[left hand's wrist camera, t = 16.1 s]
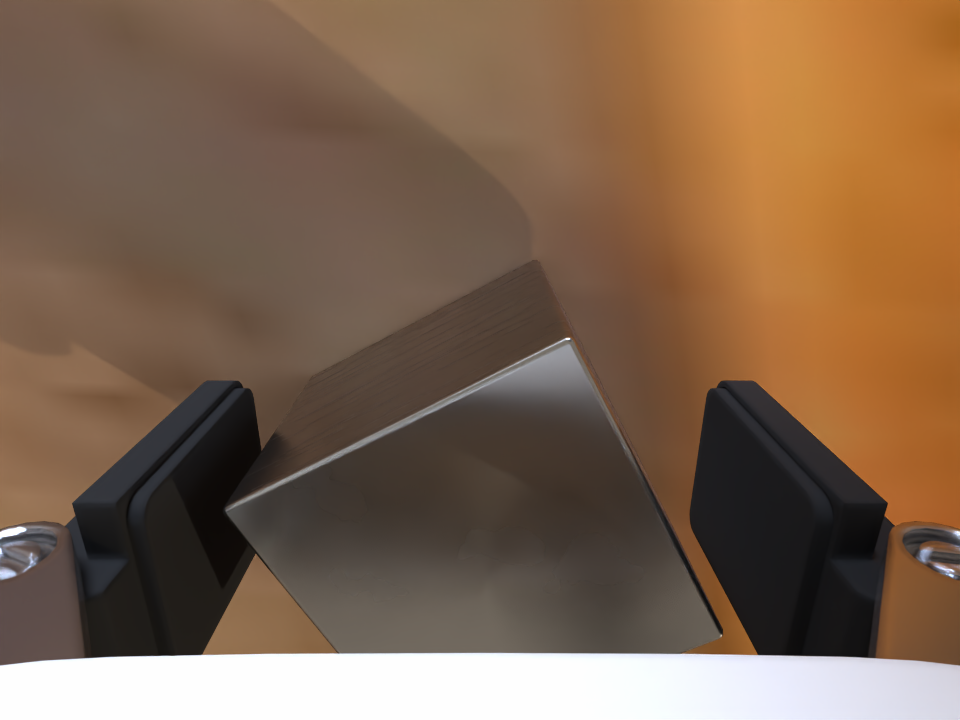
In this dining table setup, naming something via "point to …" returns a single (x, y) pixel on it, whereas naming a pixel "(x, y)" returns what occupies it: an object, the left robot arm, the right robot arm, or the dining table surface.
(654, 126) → the dining table surface
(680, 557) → the block
